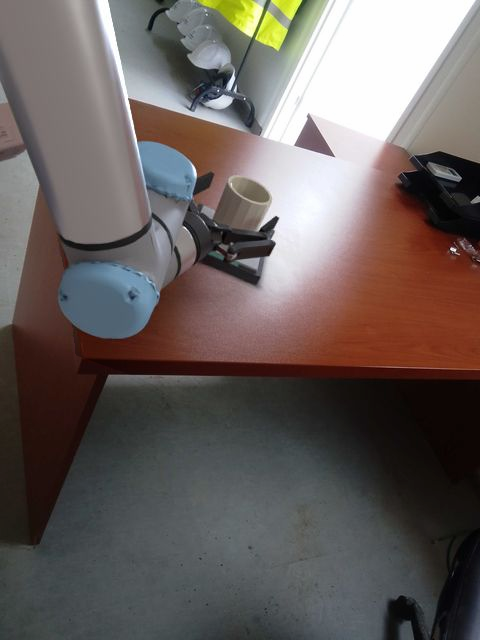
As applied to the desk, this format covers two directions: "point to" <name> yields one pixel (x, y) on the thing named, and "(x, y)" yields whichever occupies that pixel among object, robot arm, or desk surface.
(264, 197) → the beige faceted cup
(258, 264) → the kitchen scale
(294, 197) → the desk surface
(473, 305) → the desk surface
